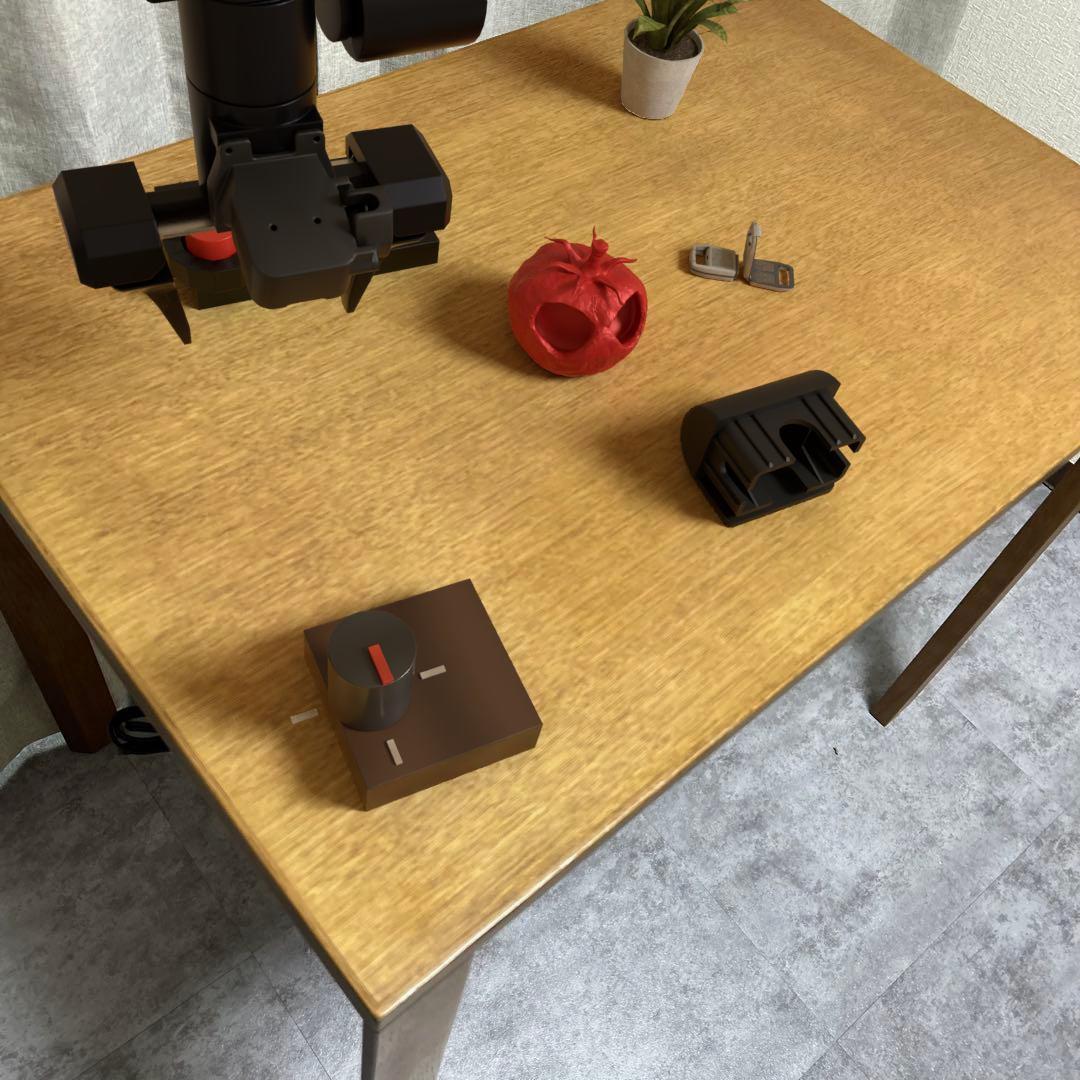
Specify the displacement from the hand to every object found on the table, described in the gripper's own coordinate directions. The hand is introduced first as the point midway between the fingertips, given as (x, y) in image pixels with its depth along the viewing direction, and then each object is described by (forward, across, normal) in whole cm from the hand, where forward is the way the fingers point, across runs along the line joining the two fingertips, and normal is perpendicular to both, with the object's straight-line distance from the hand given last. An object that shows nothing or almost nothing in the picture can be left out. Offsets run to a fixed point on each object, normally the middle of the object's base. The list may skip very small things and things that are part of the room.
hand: (268, 323), depth 62 cm
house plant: (+11, +42, +28) cm, 52 cm away
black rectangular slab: (+11, +7, +19) cm, 23 cm away
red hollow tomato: (+11, +23, +4) cm, 26 cm away
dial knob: (+8, -1, -20) cm, 22 cm away
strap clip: (+11, +40, +7) cm, 42 cm away
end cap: (+11, +30, -11) cm, 34 cm away
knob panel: (+11, +1, -20) cm, 23 cm away
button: (+7, 0, +16) cm, 18 cm away
